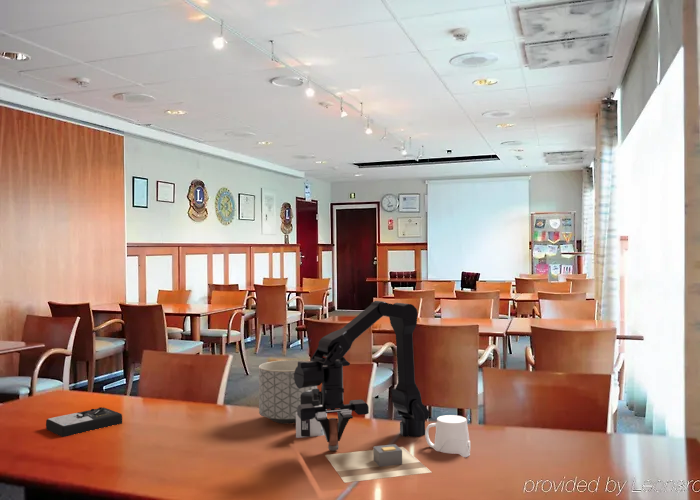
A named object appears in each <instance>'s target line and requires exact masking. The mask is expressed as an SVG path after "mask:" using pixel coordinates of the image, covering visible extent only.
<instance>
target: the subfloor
mask: <svg viewBox="0 0 700 500" xmlns="http://www.w3.org/2000/svg"><path fill="white" fill-rule="evenodd" d="M398 447H399V448H400V449H401V450H402V464H400V465H391V466H382V467H379V466H378V464H377V463H376V462H375V461H374V455H373V449H369V450H360V451H350V452H341V453H333V454H332V453H331V454H325V455H324V456H325V458H326V459H327V460H328V461H329V463H330V464H331V466H332V467H333V468H334V470H335V472H336V473H337V474H338V476H339V477H340V479H341V480H342V482H343V483H345V484H346V483H355V482H360V481H361V482H363V481H370V480H371V481H372V480H381V479H389V478H395V477H405V476H413V475H414V476H415V475H421V474H428V473H429V474H431V473H432V471H431V470H430V469H429V468H428V467H427V466H426V465H424V464H423V463H422V462H421V461H420V460H419V459H418V458H417V457H415V456H414V455H413V454H412V453H411V452H410V451H409V450H407V449H406V448H405V447H404V446H398Z"/></svg>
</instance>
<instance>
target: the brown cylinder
mask: <svg viewBox="0 0 700 500" xmlns="http://www.w3.org/2000/svg"><path fill="white" fill-rule="evenodd" d="M328 422H329V437H330V438H329V442H328V444H327V445H328V447H327V448H328V450H329V451H338V450H339V441H338V417H337V418H336V417H330V418H328Z"/></svg>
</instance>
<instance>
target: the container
mask: <svg viewBox="0 0 700 500" xmlns="http://www.w3.org/2000/svg"><path fill="white" fill-rule="evenodd" d="M300 401H301V404H312V405H313V406H314V407H321V406H322V405H320V404H319V401H312V391H305V392H303V393H301V395H300ZM326 417H327V418H328V413H326ZM321 436H325V434H324V431H323V428H322V425H321V423H320V422H318V421H317V420H316V419H315V418H313V419H307V420H301V419H300V418H299V416H298V415H297V412H296V423H295V438H296V439H299V438H310V437H311V438H312V437H321Z"/></svg>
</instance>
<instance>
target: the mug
mask: <svg viewBox="0 0 700 500" xmlns="http://www.w3.org/2000/svg"><path fill="white" fill-rule="evenodd" d="M468 426H469V425H468V421H467V418H466V417H464V416H462V415H456V414H446V415H440V416H438V417H437V418H436V422H431V423H429V424H428V425H427V426H426V427H425V435H424V436H425V441H426V443H427V445H428V446H429V447H430V448H432V449H434V450H435V451H436V452H441V453H444V454H453V455H454V454H455V455H456V454H458V455H460V456H461V458H462V457H463V458H464V457H465V458H469V457H470V456H471V440H470V434H469V427H468ZM430 428H435V435H434V442H432V440H431V439H430V436H429V431H430Z"/></svg>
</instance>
